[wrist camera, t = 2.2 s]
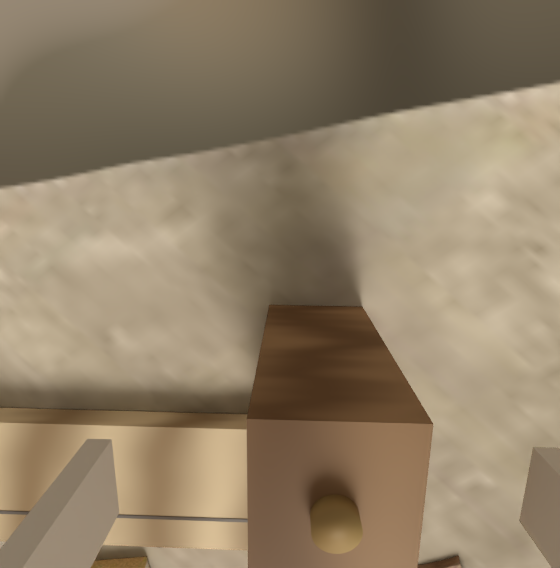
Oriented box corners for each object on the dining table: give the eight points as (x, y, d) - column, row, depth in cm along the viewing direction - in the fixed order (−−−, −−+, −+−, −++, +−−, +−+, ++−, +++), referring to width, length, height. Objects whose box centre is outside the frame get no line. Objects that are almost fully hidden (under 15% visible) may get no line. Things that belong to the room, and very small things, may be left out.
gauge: (362, 306, 21) (441, 437, 10) (349, 523, 24) (397, 808, 13) (269, 304, 21) (244, 432, 10) (268, 521, 25) (247, 800, 13)
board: (364, 417, 23) (369, 433, 21) (356, 532, 25) (361, 555, 23) (-11, 407, 23) (-32, 422, 22) (9, 520, 25) (-9, 541, 24)
